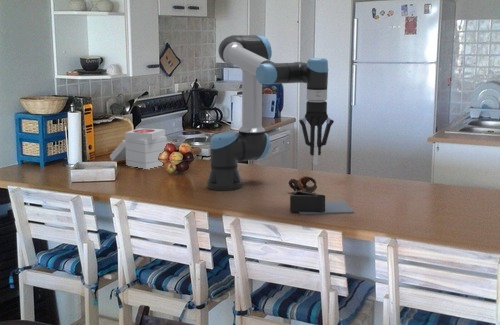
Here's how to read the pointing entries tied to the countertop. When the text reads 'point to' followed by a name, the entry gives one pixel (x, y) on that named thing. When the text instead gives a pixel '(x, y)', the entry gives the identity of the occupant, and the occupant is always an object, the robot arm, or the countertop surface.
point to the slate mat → (333, 208)
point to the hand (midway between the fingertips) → (315, 163)
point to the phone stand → (307, 202)
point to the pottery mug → (303, 184)
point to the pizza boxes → (141, 148)
